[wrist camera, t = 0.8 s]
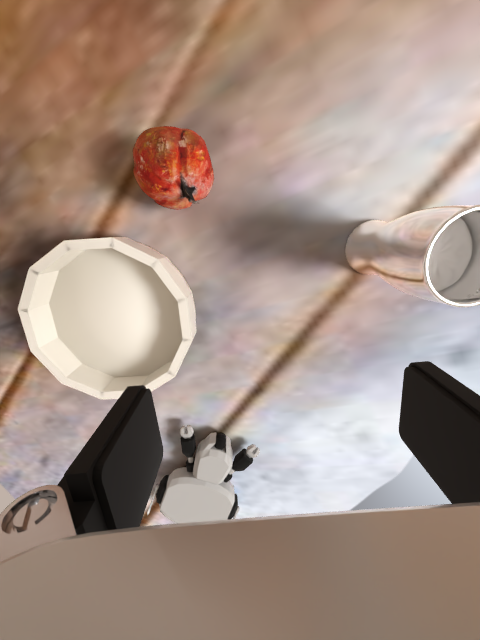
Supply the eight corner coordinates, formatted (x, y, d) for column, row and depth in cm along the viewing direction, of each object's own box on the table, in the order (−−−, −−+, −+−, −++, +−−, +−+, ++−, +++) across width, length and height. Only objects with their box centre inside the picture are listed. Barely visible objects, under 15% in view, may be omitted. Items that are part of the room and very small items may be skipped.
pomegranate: (143, 175, 32) (160, 242, 29) (109, 107, 25) (126, 185, 22) (204, 155, 32) (229, 220, 29) (187, 83, 26) (217, 156, 22)
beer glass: (346, 285, 34) (425, 322, 19) (335, 226, 32) (414, 219, 17) (404, 268, 33) (531, 294, 19) (397, 207, 31) (531, 185, 17)
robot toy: (182, 410, 40) (152, 494, 43) (176, 429, 36) (143, 521, 39) (263, 435, 41) (228, 515, 44) (266, 456, 37) (228, 543, 40)
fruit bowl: (30, 243, 32) (-2, 245, 28) (186, 232, 32) (178, 232, 28) (68, 383, 37) (46, 402, 33) (203, 375, 37) (198, 393, 33)
